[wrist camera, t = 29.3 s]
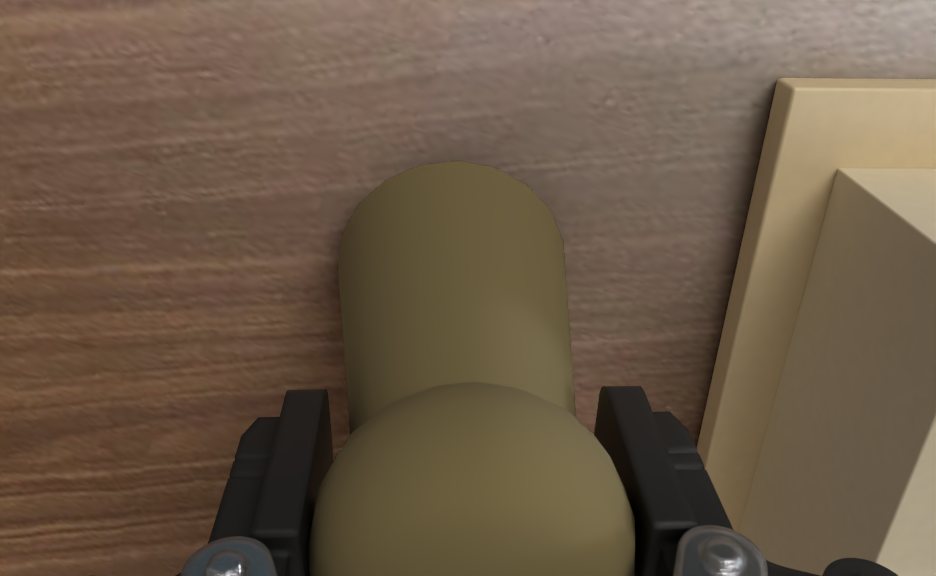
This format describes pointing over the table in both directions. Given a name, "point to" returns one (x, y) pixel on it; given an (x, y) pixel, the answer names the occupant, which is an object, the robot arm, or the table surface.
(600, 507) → the chess pawn figurine
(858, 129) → the slotted fixture
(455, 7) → the table surface
